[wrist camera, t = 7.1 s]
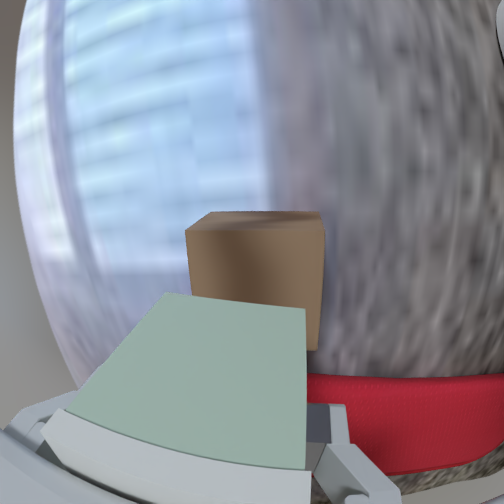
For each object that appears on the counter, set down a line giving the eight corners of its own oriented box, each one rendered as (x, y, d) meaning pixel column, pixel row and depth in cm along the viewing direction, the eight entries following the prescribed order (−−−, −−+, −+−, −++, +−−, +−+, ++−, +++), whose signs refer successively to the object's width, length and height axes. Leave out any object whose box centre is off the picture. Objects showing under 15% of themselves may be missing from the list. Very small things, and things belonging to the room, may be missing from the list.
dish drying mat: (480, 448, 25) (487, 466, 22) (182, 439, 30) (172, 462, 26) (540, 362, 20) (554, 380, 16) (173, 337, 24) (155, 363, 21)
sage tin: (308, 306, 10) (310, 507, 3) (289, 408, 12) (273, 558, 5) (163, 289, 11) (39, 430, 4) (174, 390, 12) (110, 518, 6)
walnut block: (318, 211, 19) (324, 231, 14) (314, 308, 21) (317, 350, 16) (211, 211, 20) (184, 230, 15) (218, 305, 22) (199, 343, 17)
